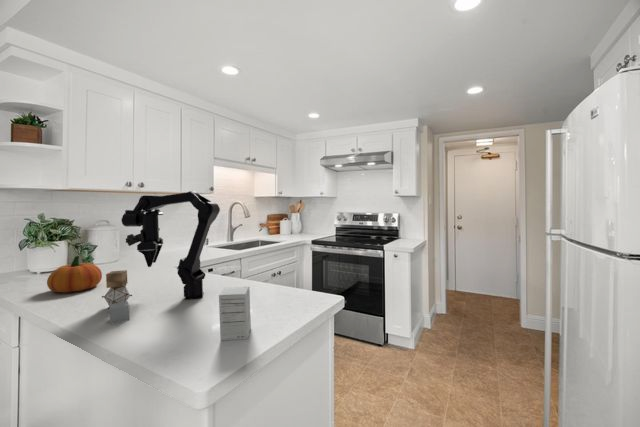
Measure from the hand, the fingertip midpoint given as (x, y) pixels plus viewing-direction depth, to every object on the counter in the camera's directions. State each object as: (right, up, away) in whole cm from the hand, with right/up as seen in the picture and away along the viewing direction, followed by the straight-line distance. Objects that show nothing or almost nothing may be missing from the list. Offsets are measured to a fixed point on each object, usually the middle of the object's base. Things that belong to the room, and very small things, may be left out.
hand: (151, 264), depth 119 cm
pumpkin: (-43, -14, +14) cm, 47 cm away
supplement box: (+45, -14, -36) cm, 59 cm away
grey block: (+3, -14, -24) cm, 28 cm away
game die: (-6, -14, -11) cm, 19 cm away
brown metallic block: (-6, -6, -11) cm, 14 cm away
